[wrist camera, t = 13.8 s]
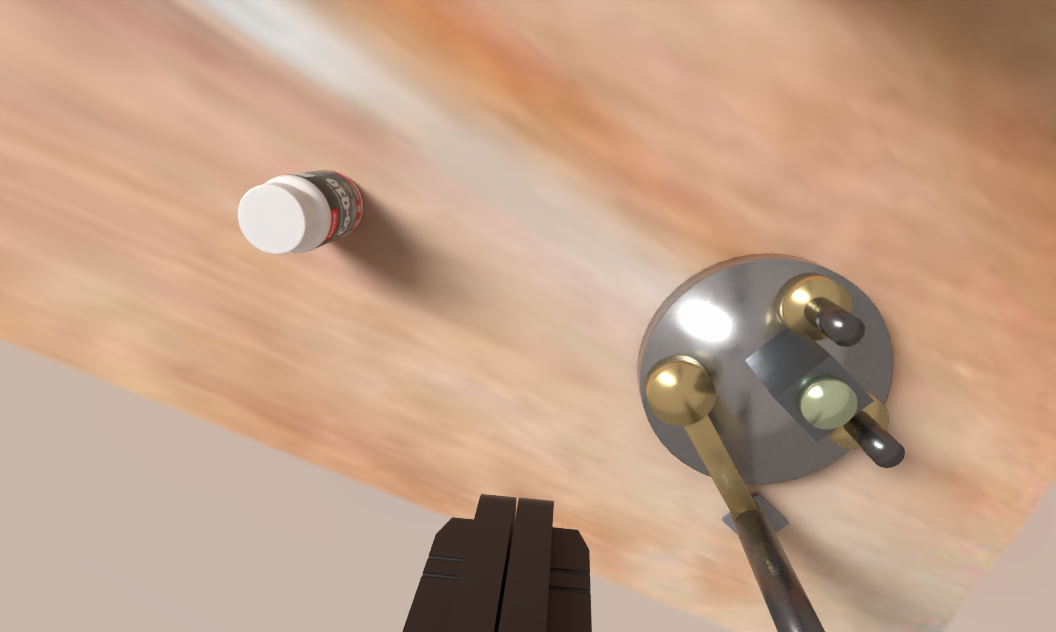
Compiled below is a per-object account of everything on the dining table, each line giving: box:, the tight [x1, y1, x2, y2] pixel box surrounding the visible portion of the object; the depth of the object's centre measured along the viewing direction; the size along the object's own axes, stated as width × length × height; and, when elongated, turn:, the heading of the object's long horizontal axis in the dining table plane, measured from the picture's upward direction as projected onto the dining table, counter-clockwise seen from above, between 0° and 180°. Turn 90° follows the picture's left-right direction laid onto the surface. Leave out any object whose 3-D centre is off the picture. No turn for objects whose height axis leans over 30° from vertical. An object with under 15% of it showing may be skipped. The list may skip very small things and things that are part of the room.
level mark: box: [722, 493, 788, 535], centre depth 45 cm, size 4×4×1 cm
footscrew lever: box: [645, 355, 825, 632], centre depth 34 cm, size 15×4×14 cm, turn 30°
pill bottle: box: [238, 170, 363, 254], centre depth 36 cm, size 5×5×8 cm
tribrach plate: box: [637, 254, 905, 484], centre depth 37 cm, size 17×17×9 cm
